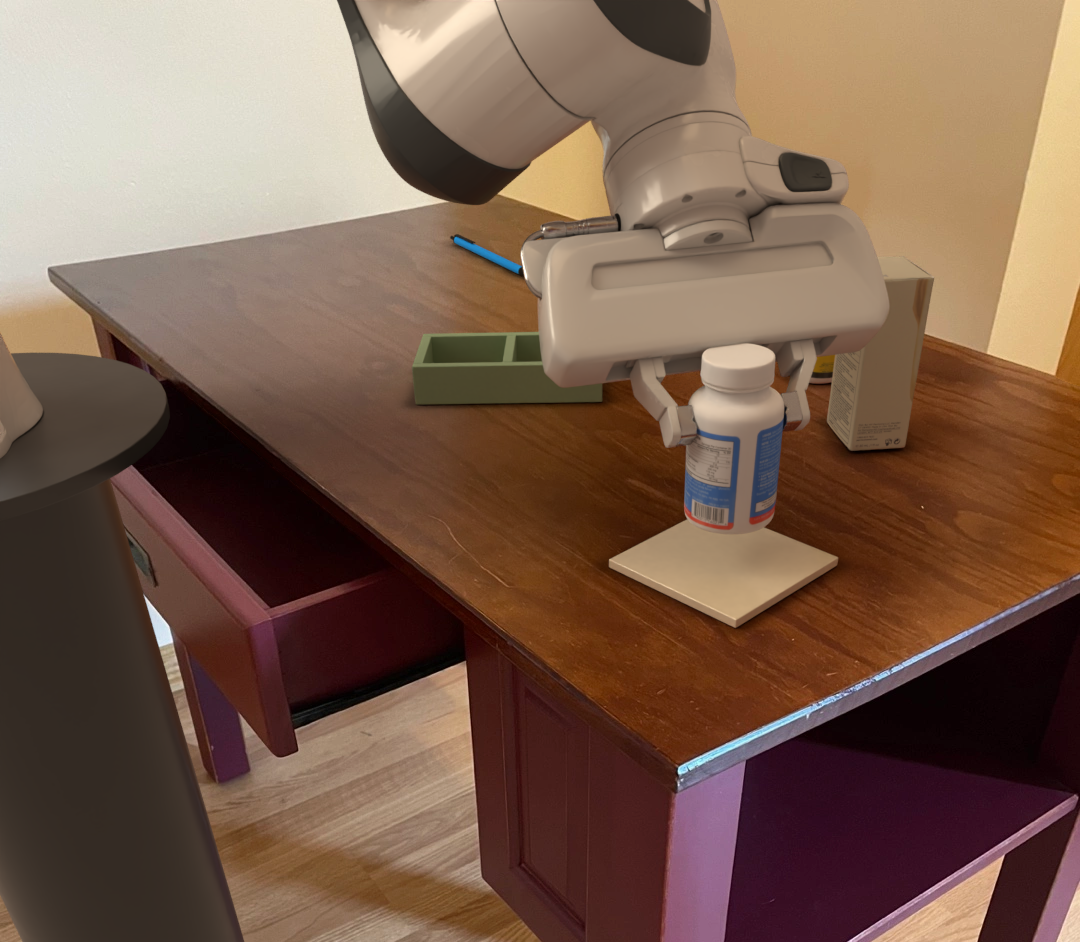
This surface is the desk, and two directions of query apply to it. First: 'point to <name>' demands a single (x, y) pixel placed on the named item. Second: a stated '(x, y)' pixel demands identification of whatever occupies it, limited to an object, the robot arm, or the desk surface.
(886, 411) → the cosmetic box
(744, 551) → the tile
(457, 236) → the pen
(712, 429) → the pill bottle
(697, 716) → the desk surface
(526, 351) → the bottle rack
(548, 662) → the desk surface
